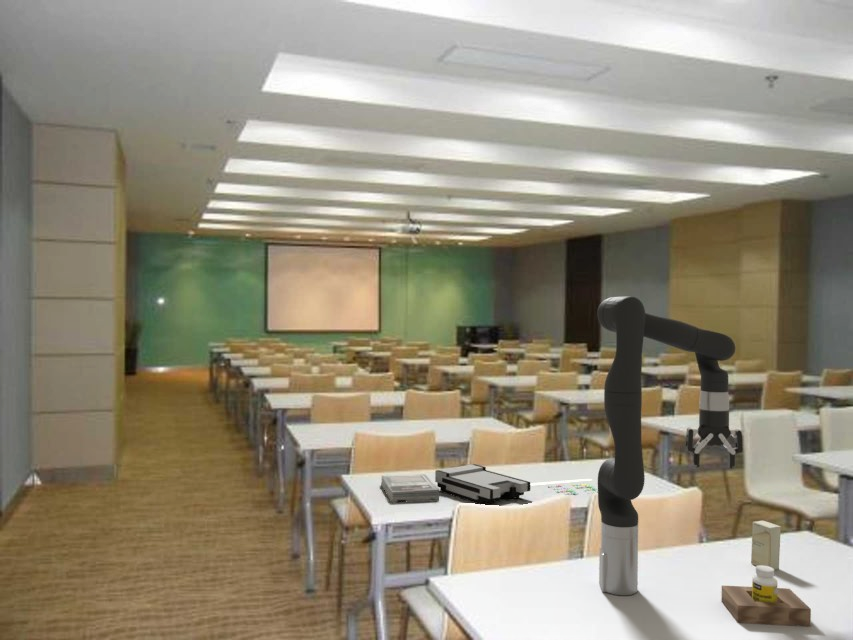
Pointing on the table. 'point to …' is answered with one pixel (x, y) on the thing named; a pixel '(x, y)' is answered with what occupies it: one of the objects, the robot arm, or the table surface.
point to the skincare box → (765, 544)
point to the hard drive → (409, 488)
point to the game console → (479, 484)
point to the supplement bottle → (764, 585)
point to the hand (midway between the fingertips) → (713, 467)
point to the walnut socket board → (766, 607)
